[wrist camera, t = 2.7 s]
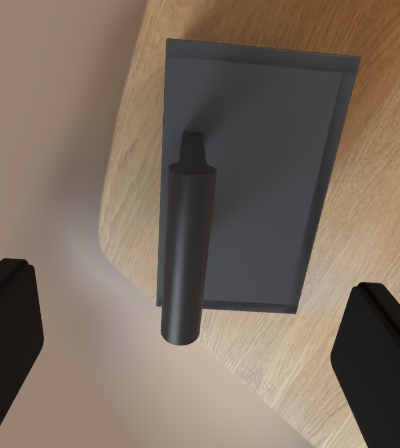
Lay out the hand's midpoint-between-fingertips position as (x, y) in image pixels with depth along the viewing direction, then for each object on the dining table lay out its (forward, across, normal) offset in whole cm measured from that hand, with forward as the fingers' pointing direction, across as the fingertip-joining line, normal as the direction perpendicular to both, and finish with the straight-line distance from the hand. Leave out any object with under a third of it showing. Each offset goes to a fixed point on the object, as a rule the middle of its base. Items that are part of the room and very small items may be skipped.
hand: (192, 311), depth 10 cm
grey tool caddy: (+11, -7, 0) cm, 13 cm away
